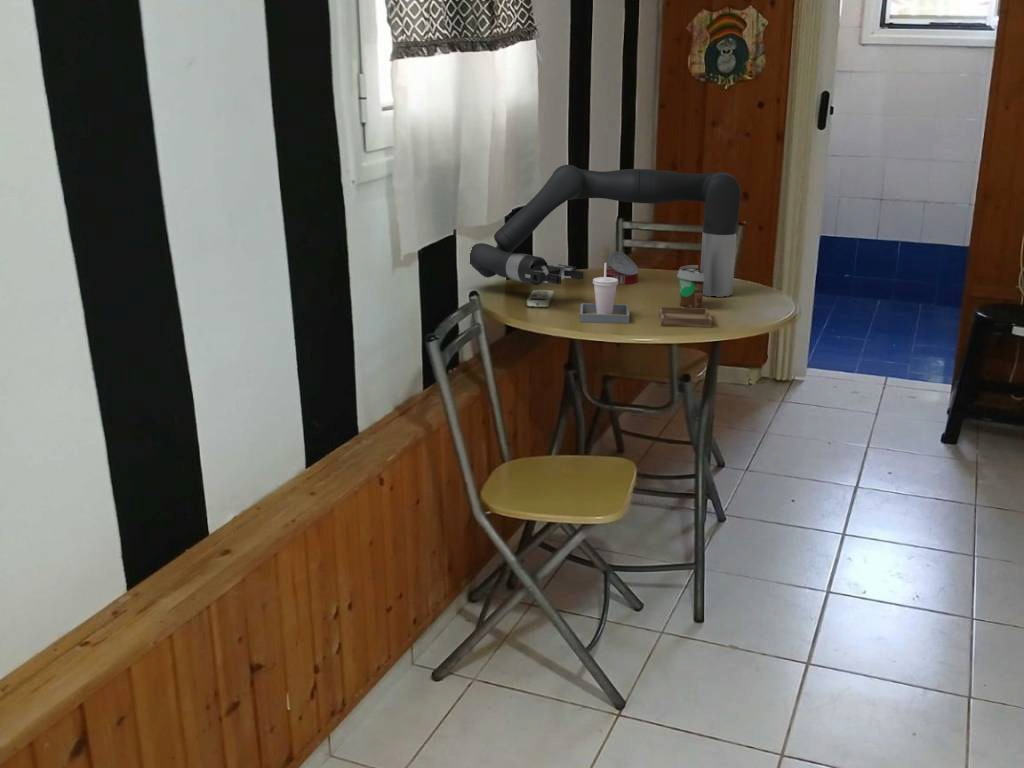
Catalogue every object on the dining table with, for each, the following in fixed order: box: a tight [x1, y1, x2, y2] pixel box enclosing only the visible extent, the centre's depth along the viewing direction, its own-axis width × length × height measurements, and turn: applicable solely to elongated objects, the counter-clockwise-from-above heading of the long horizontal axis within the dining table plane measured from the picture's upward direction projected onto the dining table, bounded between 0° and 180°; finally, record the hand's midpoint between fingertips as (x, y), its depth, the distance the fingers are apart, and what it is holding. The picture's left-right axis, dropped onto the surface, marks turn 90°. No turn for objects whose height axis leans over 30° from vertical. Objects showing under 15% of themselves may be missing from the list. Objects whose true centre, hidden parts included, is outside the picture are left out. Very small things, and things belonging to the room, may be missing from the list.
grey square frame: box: [579, 302, 630, 324], centre depth 264 cm, size 12×12×2 cm
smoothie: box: [592, 262, 618, 314], centre depth 263 cm, size 6×6×14 cm
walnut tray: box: [658, 306, 713, 328], centre depth 261 cm, size 12×12×2 cm
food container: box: [676, 264, 704, 308], centre depth 276 cm, size 12×6×10 cm, turn 178°
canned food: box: [606, 250, 639, 286], centre depth 307 cm, size 11×10×10 cm
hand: (571, 277), depth 270 cm, fingers open, 8 cm apart
